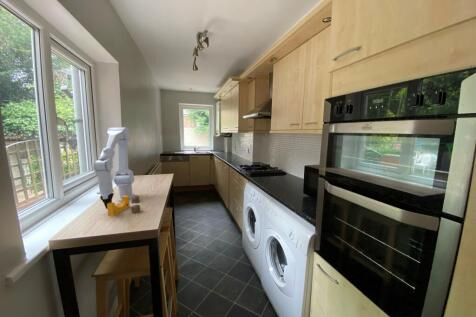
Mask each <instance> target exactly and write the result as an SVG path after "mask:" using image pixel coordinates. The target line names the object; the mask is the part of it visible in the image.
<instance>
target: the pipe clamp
mask: <svg viewBox="0 0 476 317" xmlns="http://www.w3.org/2000/svg"><path fill="white" fill-rule="evenodd" d="M130 206H131V205H130V199H129V196H122V201H118V202H117V203H115V202H113V201H112V202H110V203H108V204H107V208H108V209H107V216H109V217H114V216H116V215H118V214H120V213H121V212H123V211H124V210H127V209H128V208H129V207H130Z"/></svg>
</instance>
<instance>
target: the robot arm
mask: <svg viewBox="0 0 476 317" xmlns="http://www.w3.org/2000/svg"><path fill="white" fill-rule="evenodd" d="M130 135H131V133H130V131H129V128H128V127H126V126H124V127H121V126H120V127H108V129H107V136H108V138H107V143H106V147H103V148H102V151H101V153H100V154H99V157H98V160H96V161H94V162H93V167H92V168H93V170H94V172H95V175H96V176H97V180H98V190H99V191H98V192H96V195H100V197H99V198H100V200H101V201H102V202H103V204H104V207H105V209H106V210H108V208H107V204H108V203H110V202H112V203H113V198H114V191H115V190H114V187H113V183H114V185H116V186H117V187H118V195H119V196H118V202H121V201H122V196H129V200H132V199H131V197H133V196H134V195H135V194H134V193H133V184H134V182H135V176H134V171H132V170H131V169H130V168H129V150H128V149H129V146H128V144H129V143H128V142H130V140H131V136H130ZM117 144H118V145H117ZM116 146H117V148H118V152H117V153H118V156H117V158H118V170H116V171H115V172H114V177H113V179H112V169H113V167H114V164H113V161H114V160H113V159H114V156H115V154H116V152H115V147H116Z"/></svg>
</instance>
